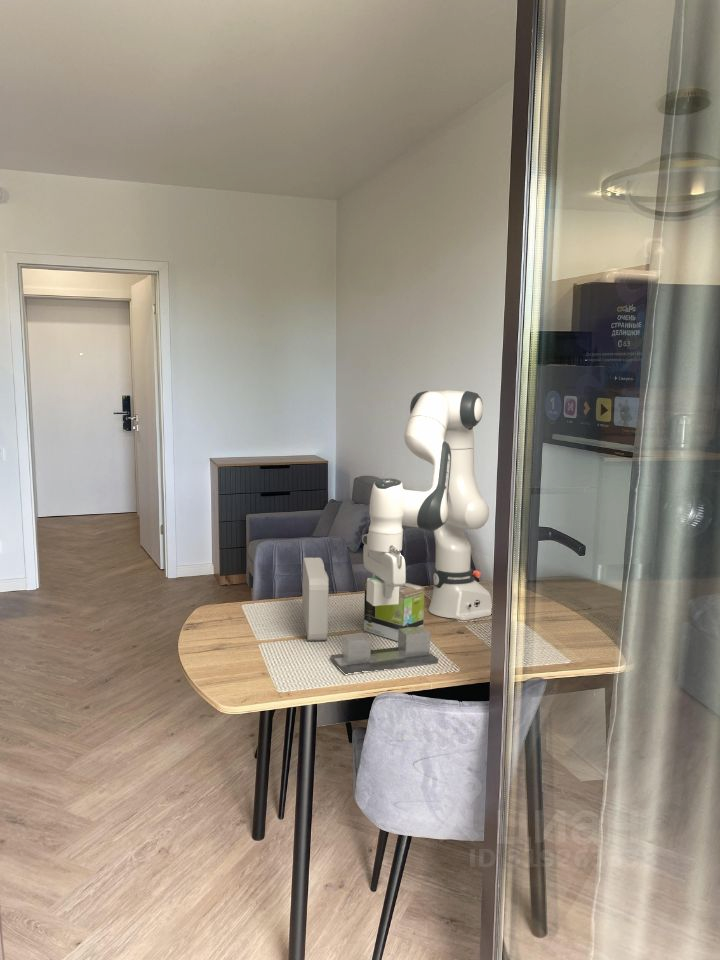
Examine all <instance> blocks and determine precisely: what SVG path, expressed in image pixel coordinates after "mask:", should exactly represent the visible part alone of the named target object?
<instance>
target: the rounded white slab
mask: <svg viewBox="0 0 720 960" xmlns="http://www.w3.org/2000/svg"><path fill="white" fill-rule="evenodd" d="M329 581H330V580H329V575H328V573H327V571H326V570H325V564H324V561H323V559H322V558H321V557H303V559H302V603H301V608H302V610H301V611H302V616H303V622H305V623H304V627H305V632H306V639H307V641H314V642H315V641H327V640H328V629H329V628H328V627H329V626H328V620H329V590H330V584H329V583H330V582H329Z"/></svg>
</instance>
